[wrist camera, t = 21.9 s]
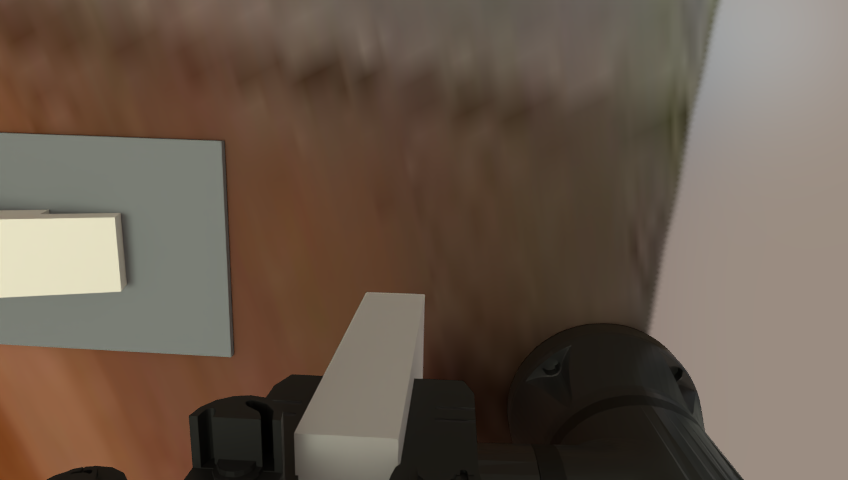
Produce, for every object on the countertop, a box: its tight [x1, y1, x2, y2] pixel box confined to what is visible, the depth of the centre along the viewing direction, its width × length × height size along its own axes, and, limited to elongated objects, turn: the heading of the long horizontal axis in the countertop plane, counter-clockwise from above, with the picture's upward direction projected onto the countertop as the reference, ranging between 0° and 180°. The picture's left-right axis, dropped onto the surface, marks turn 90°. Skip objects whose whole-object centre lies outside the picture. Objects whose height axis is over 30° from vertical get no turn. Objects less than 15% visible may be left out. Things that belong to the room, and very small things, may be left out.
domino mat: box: [0, 133, 234, 357], centre depth 47 cm, size 18×38×1 cm, turn 88°
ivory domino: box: [0, 213, 127, 298], centre depth 43 cm, size 6×2×13 cm
